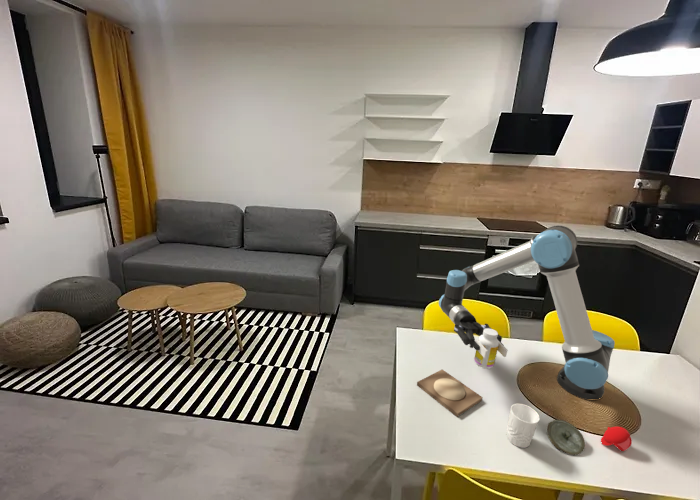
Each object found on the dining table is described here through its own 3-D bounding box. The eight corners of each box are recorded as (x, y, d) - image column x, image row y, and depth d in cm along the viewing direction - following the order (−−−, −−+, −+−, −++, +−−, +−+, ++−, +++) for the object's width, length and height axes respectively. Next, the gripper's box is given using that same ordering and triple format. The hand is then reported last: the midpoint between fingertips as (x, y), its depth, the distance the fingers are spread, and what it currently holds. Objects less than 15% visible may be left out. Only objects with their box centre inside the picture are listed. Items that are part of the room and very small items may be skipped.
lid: (576, 433, 112) (580, 421, 110) (589, 459, 103) (594, 446, 101) (540, 426, 114) (544, 413, 112) (550, 451, 105) (554, 438, 103)
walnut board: (481, 400, 123) (482, 396, 123) (457, 417, 115) (458, 412, 114) (441, 372, 137) (442, 368, 136) (416, 385, 128) (417, 381, 128)
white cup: (535, 452, 104) (543, 425, 101) (507, 446, 105) (514, 420, 102) (527, 431, 111) (535, 406, 108) (501, 426, 113) (508, 401, 109)
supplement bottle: (494, 361, 125) (502, 330, 121) (492, 371, 119) (500, 339, 115) (474, 355, 128) (481, 324, 124) (472, 365, 122) (479, 333, 118)
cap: (622, 428, 111) (607, 417, 111) (639, 438, 105) (623, 426, 105) (608, 449, 111) (593, 438, 111) (624, 460, 105) (608, 448, 105)
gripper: (483, 326, 141) (519, 361, 120) (438, 327, 137) (467, 364, 116) (487, 309, 139) (524, 343, 117) (441, 310, 135) (471, 345, 113)
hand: (495, 353), depth 117 cm, fingers closed on supplement bottle, 7 cm apart
